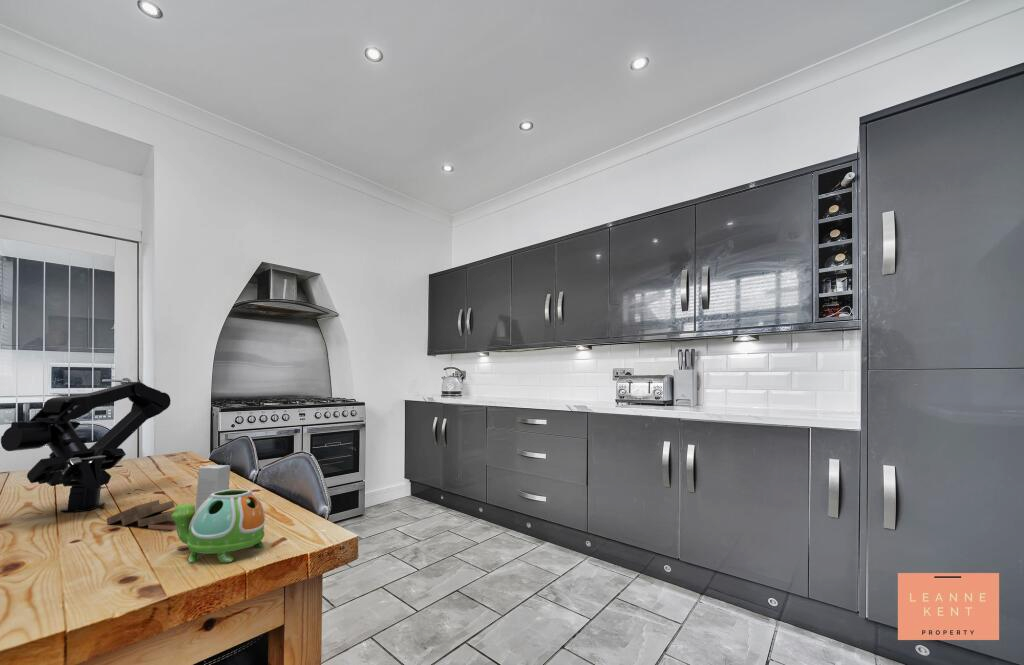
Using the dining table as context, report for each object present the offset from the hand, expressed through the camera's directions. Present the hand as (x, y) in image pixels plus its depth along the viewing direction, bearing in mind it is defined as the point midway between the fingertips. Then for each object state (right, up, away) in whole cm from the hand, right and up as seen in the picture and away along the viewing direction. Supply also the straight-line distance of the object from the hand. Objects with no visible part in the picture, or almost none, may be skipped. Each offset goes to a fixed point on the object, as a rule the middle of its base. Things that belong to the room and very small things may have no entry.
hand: (96, 489), depth 109 cm
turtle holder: (+45, -5, -22) cm, 50 cm away
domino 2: (+12, -6, -3) cm, 14 cm away
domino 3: (+17, -6, -4) cm, 18 cm away
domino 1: (+7, -7, -2) cm, 10 cm away
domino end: (+19, -7, -4) cm, 21 cm away
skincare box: (+25, -8, +5) cm, 27 cm away
